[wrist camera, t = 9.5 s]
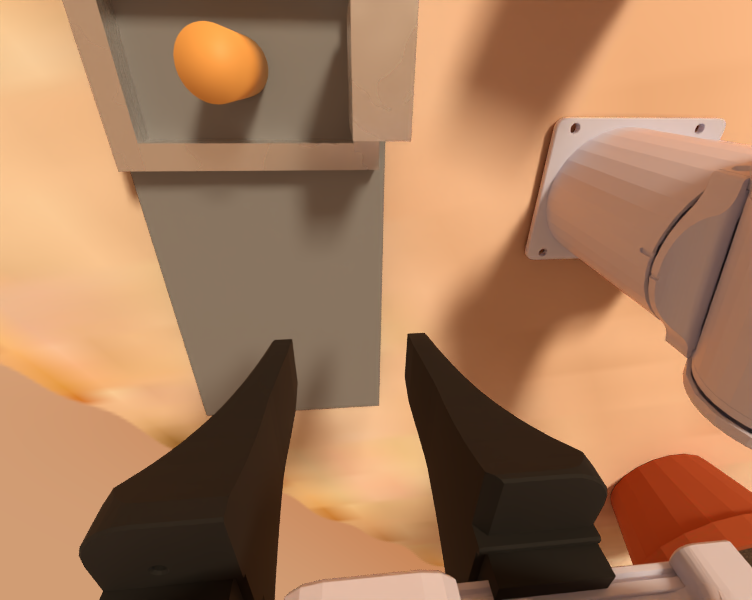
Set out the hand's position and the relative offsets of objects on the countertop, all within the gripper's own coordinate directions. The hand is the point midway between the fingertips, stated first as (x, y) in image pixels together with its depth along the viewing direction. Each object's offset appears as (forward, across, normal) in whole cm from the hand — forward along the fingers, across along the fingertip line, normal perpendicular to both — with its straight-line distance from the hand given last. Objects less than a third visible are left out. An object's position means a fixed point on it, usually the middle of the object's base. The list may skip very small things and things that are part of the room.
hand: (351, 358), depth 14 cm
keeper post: (+10, +4, -9) cm, 14 cm away
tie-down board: (+10, +4, -1) cm, 11 cm away
